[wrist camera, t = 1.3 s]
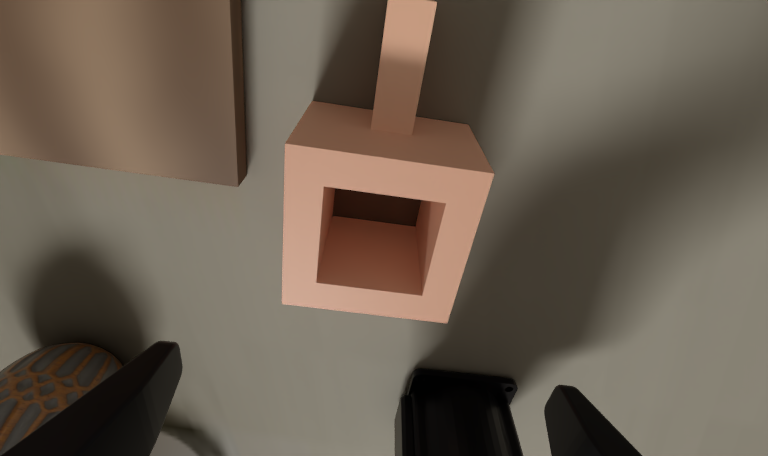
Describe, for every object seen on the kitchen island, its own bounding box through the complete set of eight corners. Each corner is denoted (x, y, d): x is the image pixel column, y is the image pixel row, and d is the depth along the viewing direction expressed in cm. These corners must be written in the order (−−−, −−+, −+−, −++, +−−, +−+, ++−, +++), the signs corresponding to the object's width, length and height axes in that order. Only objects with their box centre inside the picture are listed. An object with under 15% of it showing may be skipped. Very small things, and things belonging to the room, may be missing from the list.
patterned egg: (40, 388, 26) (-98, 549, 19) (20, 313, 23) (-158, 474, 16) (150, 407, 27) (59, 568, 20) (147, 338, 24) (36, 501, 16)
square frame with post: (435, 250, 20) (447, 323, 16) (305, 234, 20) (281, 303, 16) (498, 9, 15) (542, 23, 10) (318, -21, 14) (288, -21, 10)
